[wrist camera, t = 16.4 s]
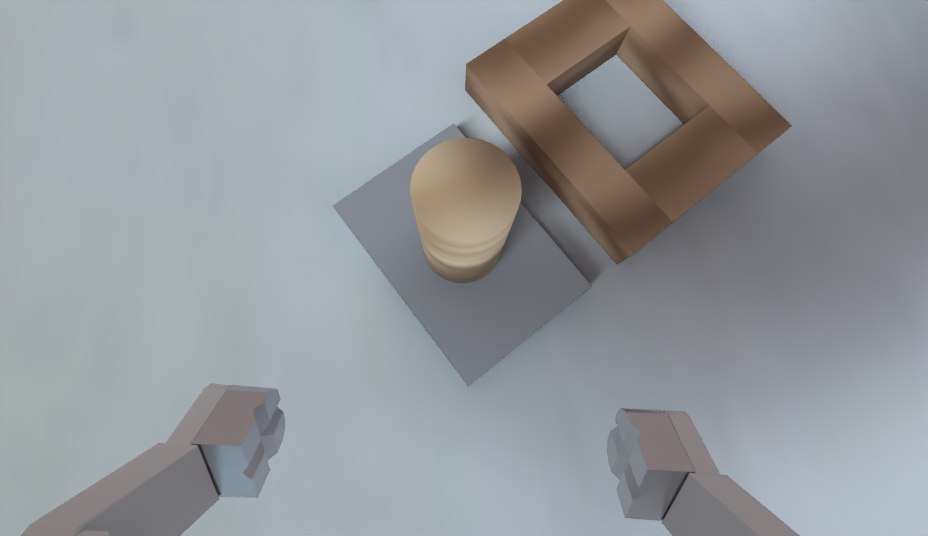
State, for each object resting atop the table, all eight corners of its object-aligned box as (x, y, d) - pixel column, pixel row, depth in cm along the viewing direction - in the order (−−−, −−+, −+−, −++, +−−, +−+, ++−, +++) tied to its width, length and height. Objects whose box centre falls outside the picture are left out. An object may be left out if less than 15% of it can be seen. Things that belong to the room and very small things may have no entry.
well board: (762, 146, 28) (791, 125, 26) (617, 264, 26) (634, 253, 24) (609, -7, 31) (622, -39, 28) (465, 89, 29) (466, 63, 26)
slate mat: (586, 289, 26) (591, 286, 25) (467, 385, 24) (468, 385, 24) (453, 131, 28) (453, 123, 27) (337, 211, 27) (332, 205, 26)
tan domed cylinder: (516, 252, 25) (544, 198, 17) (454, 298, 25) (455, 263, 17) (469, 194, 26) (475, 118, 18) (407, 238, 25) (387, 177, 18)
